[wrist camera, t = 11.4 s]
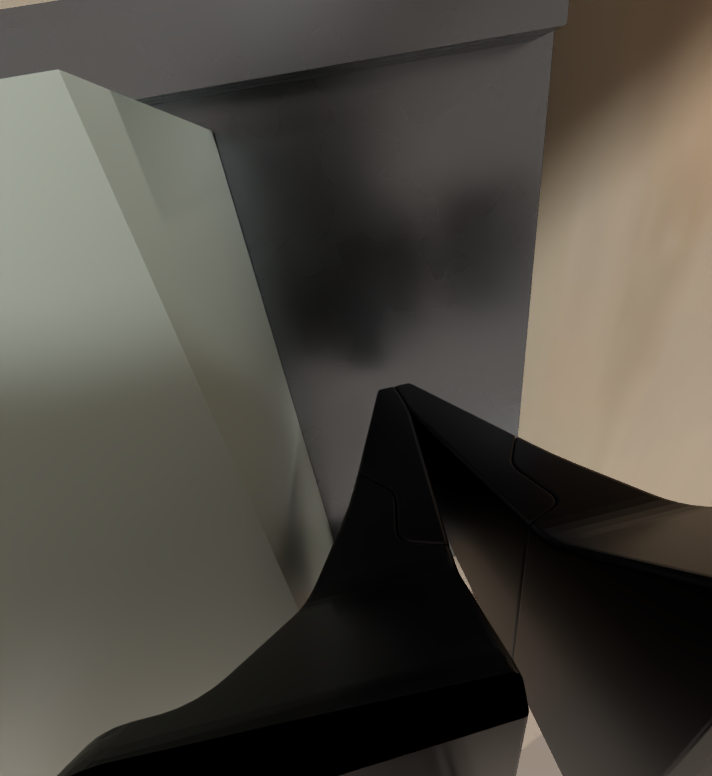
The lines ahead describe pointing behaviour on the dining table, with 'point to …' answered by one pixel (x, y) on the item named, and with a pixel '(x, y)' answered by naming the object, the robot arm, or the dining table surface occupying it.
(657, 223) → the dining table surface
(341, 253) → the housing base
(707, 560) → the robot arm
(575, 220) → the dining table surface
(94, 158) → the housing cover
